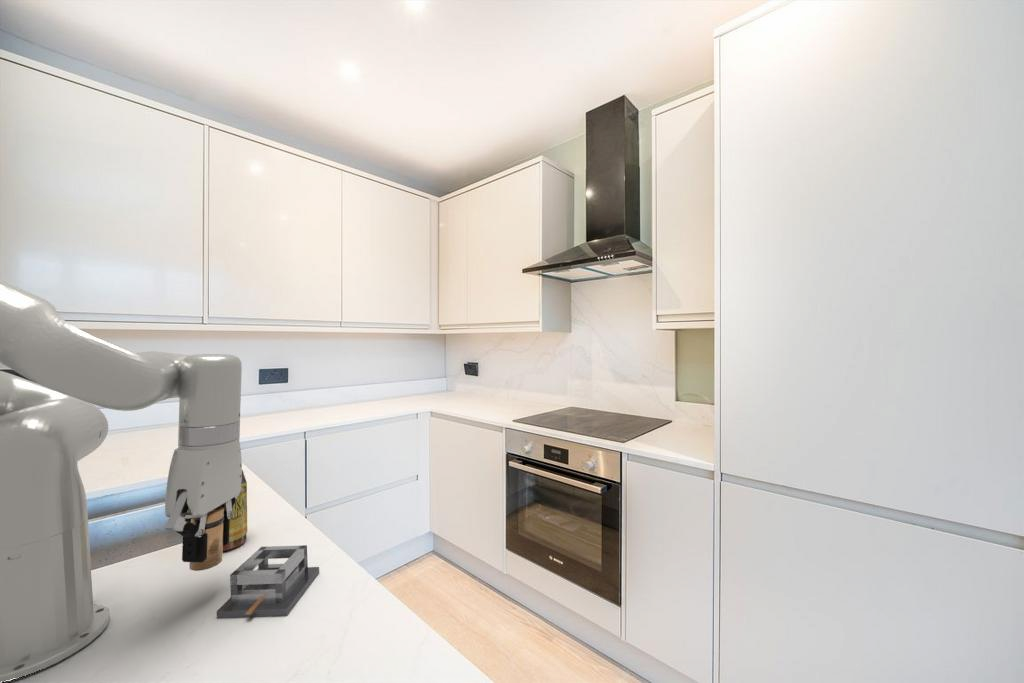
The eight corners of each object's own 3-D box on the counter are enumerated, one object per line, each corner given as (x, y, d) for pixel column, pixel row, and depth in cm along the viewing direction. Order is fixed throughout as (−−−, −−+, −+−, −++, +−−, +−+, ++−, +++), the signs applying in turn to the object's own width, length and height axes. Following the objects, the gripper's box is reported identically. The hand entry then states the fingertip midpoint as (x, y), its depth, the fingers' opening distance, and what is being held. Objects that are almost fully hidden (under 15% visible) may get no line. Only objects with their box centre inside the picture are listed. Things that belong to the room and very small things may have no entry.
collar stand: (212, 622, 56) (210, 584, 56) (259, 574, 67) (258, 542, 66) (283, 619, 56) (282, 582, 56) (319, 572, 67) (318, 541, 67)
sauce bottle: (222, 556, 72) (217, 450, 72) (200, 550, 74) (195, 447, 74) (256, 538, 78) (252, 440, 78) (235, 533, 81) (230, 437, 80)
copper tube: (181, 570, 59) (183, 517, 58) (203, 555, 63) (204, 505, 63) (209, 571, 59) (211, 517, 59) (229, 556, 63) (230, 506, 63)
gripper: (224, 422, 69) (220, 526, 69) (134, 448, 52) (130, 586, 52) (267, 423, 69) (264, 527, 69) (191, 450, 52) (187, 587, 52)
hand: (206, 551), depth 61 cm, fingers closed on copper tube, 4 cm apart
